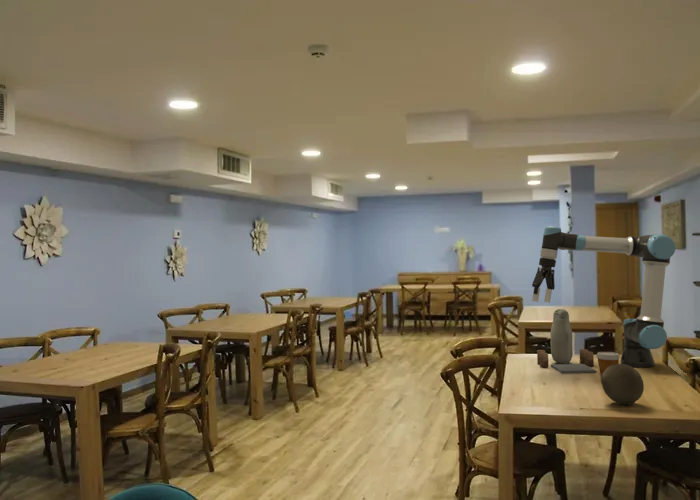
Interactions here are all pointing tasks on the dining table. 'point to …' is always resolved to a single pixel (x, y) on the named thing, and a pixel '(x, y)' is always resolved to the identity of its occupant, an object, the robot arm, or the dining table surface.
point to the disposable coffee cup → (607, 360)
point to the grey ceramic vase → (561, 337)
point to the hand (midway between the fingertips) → (541, 301)
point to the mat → (572, 368)
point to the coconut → (622, 384)
